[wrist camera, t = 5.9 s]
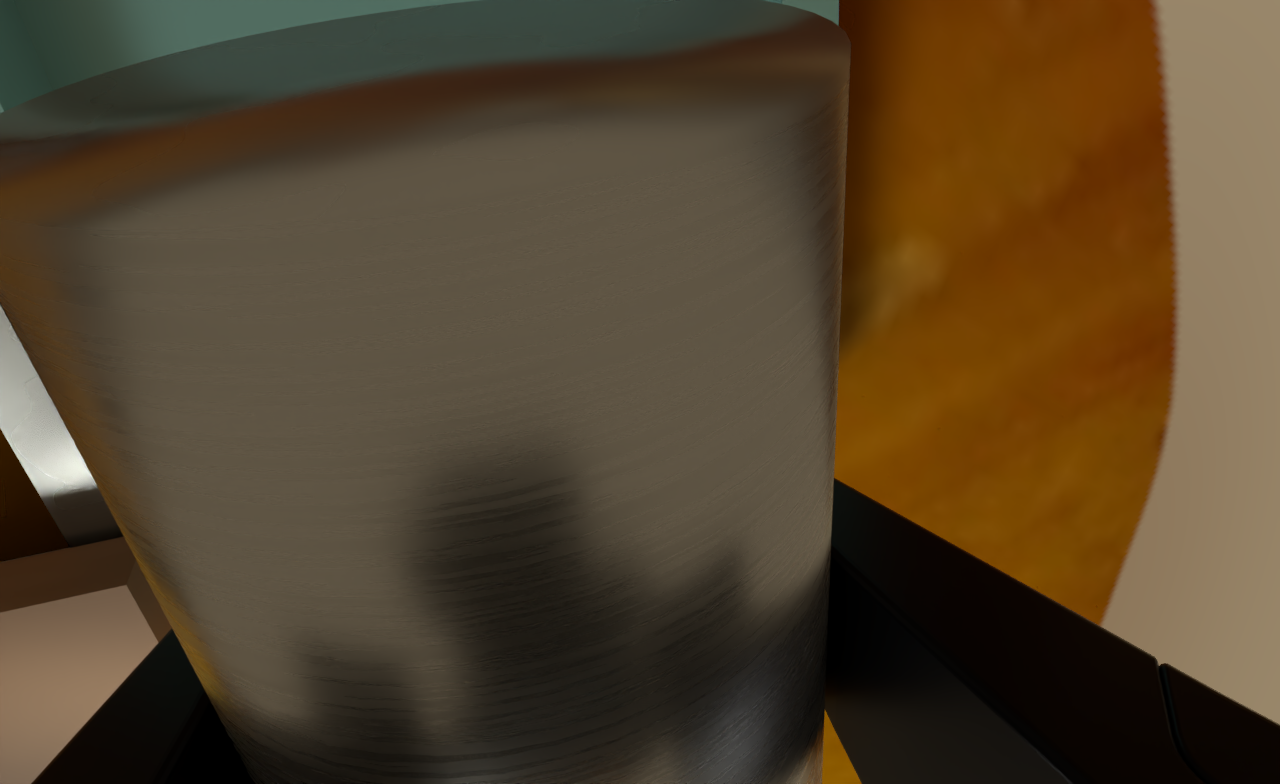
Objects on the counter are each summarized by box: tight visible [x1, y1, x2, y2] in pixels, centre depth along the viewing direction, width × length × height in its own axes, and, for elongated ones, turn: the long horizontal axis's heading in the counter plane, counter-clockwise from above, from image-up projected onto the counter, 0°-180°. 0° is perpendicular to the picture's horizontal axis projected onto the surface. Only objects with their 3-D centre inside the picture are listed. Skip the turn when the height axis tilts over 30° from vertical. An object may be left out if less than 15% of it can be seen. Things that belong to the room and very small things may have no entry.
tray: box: [0, 0, 839, 113], centre depth 16 cm, size 15×14×2 cm
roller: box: [0, 0, 851, 784], centre depth 7 cm, size 9×4×4 cm, turn 5°
